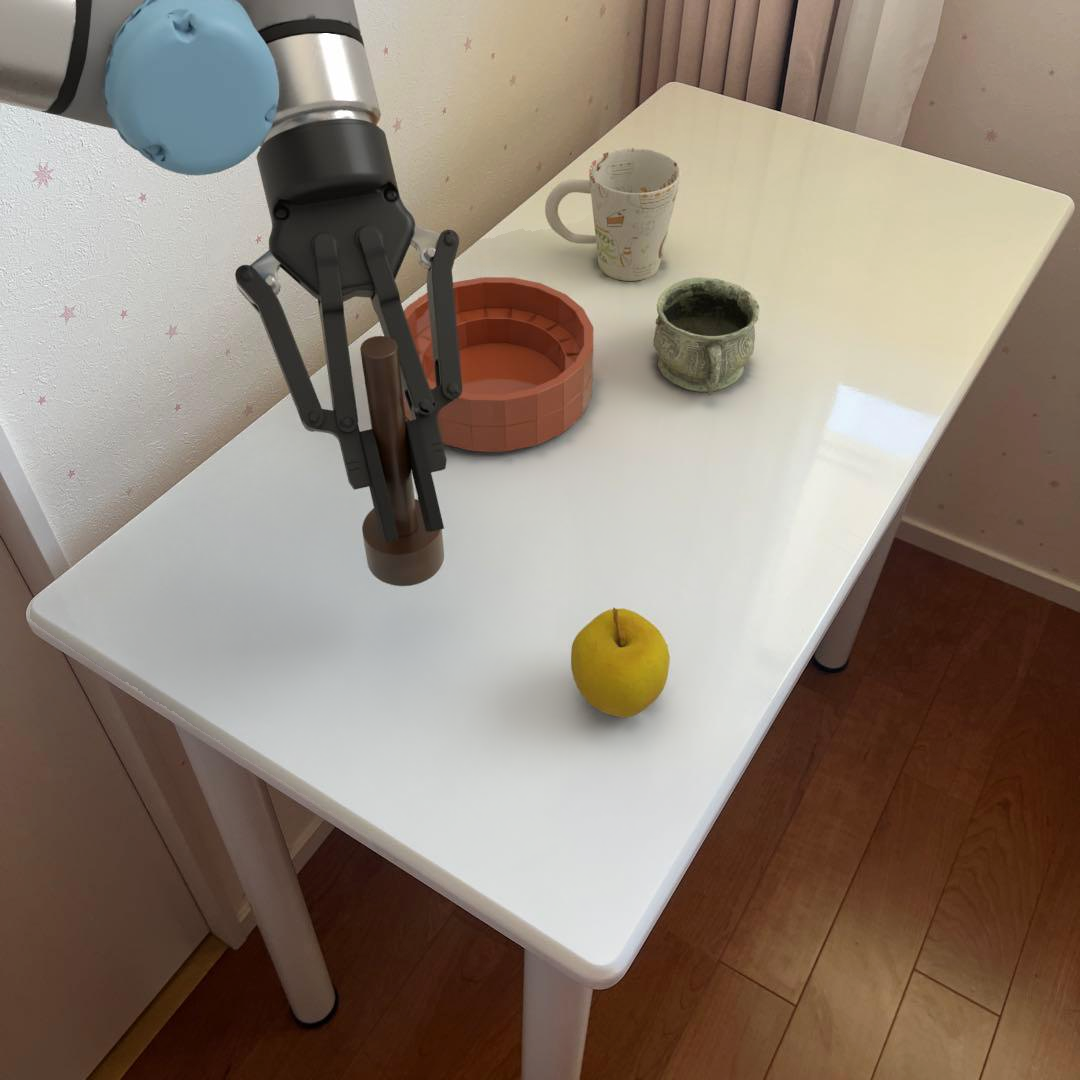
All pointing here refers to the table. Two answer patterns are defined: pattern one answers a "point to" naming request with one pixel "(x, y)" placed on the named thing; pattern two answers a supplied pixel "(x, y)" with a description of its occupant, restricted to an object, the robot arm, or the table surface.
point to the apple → (620, 662)
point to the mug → (624, 210)
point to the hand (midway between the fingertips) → (412, 534)
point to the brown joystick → (395, 476)
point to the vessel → (704, 333)
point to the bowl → (510, 363)
